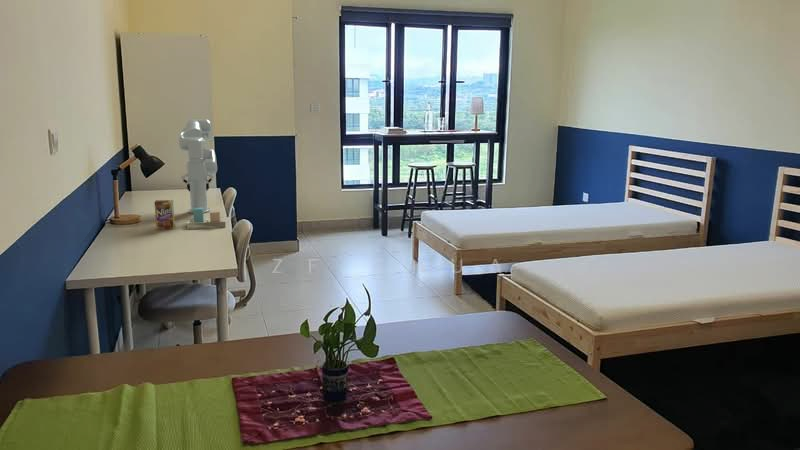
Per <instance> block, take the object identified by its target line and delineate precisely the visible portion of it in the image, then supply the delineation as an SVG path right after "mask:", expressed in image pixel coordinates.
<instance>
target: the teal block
mask: <svg viewBox="0 0 800 450" xmlns="http://www.w3.org/2000/svg"><path fill="white" fill-rule="evenodd" d="M192 214H193V223H199V222H205V216H204V213H203V207H200V208H193V213H192Z"/></svg>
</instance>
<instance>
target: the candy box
mask: <svg viewBox="0 0 800 450" xmlns="http://www.w3.org/2000/svg"><path fill="white" fill-rule="evenodd" d="M153 204H154V214H155V215H154V217H155V224H156V225H155V228H156V230H174V229H176V222H175V207H174V200H173V199H169V200H167V199H166V200H165V199H161V200H160V199H159V200H158V199H156V200H155V201H154V203H153Z"/></svg>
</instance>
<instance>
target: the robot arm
mask: <svg viewBox="0 0 800 450" xmlns="http://www.w3.org/2000/svg"><path fill="white" fill-rule="evenodd" d="M212 129H213V128H212V123H211V121H210V120H209V119H205V118H203V119H202V118H198V119H197V118H196V119H189V120H188V121H187V122H186V125H185V127H183V129H182V130H181V133H179V134H180V135H179V137H178V145H179V149H180V150H181V151H183V152H184V151H185V152H186V151H187V157H188V161H187V162H186V174H183V175H182V176H181V177H180V178H181V179H182V181H183V183H185V184H186V189H187V190H188V192H189V196H190V201H189V202H190V209H188V213H190V214H193V208H200V207H203V214H204V213H210V211H211V208H210V207H208V199H207V198H208V196H207V191H209V189H210V183H211V182H212V180H213V178H214V175H216V174H217V172H218V164H217V163H218V162H217V156H216V151H215V150H214V149H213V148H208V147H207V148H206V146H207V145H206V140H210V139H211V138H212V136H213V135H212V133H213V130H212ZM208 177H209V179H208ZM185 178H187V180H186V179H185Z"/></svg>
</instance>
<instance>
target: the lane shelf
mask: <svg viewBox="0 0 800 450" xmlns="http://www.w3.org/2000/svg"><path fill="white" fill-rule="evenodd" d="M191 221H192V220H191V219H187V222H186V229H187V230H191V229H193V230H194V229H212V228H213V229H214V228H215V229H217V228H226V225H227V223H226V221H227V220H226V217H223V218H222V221H221V220H220V222H210V221H209V218H205V219H204V222H199V223H194V222H191Z"/></svg>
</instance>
